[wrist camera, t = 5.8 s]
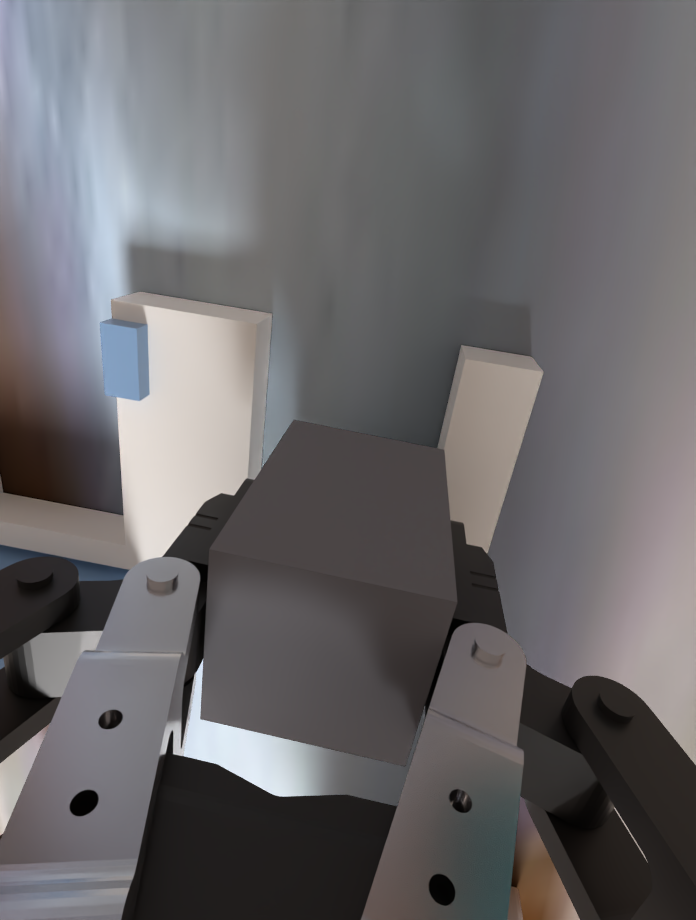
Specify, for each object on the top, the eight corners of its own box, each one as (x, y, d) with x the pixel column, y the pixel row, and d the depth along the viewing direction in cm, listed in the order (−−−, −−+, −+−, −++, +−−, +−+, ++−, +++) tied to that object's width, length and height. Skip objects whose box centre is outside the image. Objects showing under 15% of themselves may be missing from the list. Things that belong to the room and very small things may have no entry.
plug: (444, 449, 14) (457, 602, 8) (412, 572, 15) (405, 766, 10) (293, 419, 14) (209, 549, 8) (278, 544, 16) (200, 719, 10)
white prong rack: (532, 356, 15) (595, 438, 9) (450, 630, 19) (462, 791, 14) (-100, 252, 16) (-368, 271, 10) (-37, 534, 20) (-202, 650, 15)
